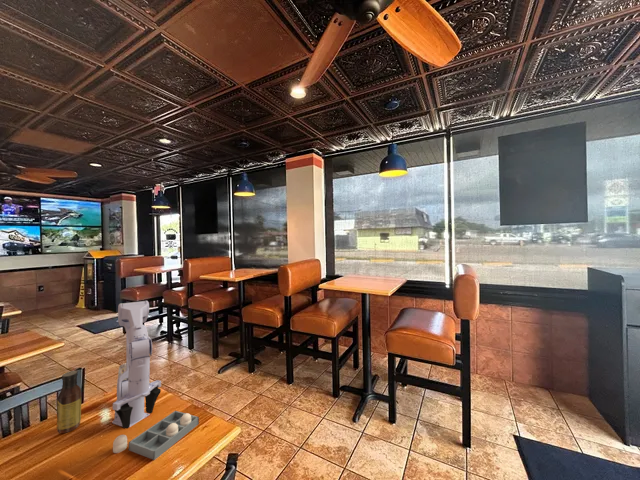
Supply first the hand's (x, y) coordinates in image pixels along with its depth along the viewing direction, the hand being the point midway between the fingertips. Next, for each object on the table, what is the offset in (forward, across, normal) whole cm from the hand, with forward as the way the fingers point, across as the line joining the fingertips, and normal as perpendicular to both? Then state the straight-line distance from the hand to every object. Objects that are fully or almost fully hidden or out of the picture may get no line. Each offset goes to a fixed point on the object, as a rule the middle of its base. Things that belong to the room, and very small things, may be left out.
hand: (138, 419), depth 83 cm
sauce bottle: (+9, -2, +32) cm, 34 cm away
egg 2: (+8, +6, -8) cm, 13 cm away
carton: (+9, +6, -5) cm, 12 cm away
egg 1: (+9, -3, +4) cm, 10 cm away
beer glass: (+9, +17, +30) cm, 36 cm away
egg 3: (+8, +12, -8) cm, 16 cm away
